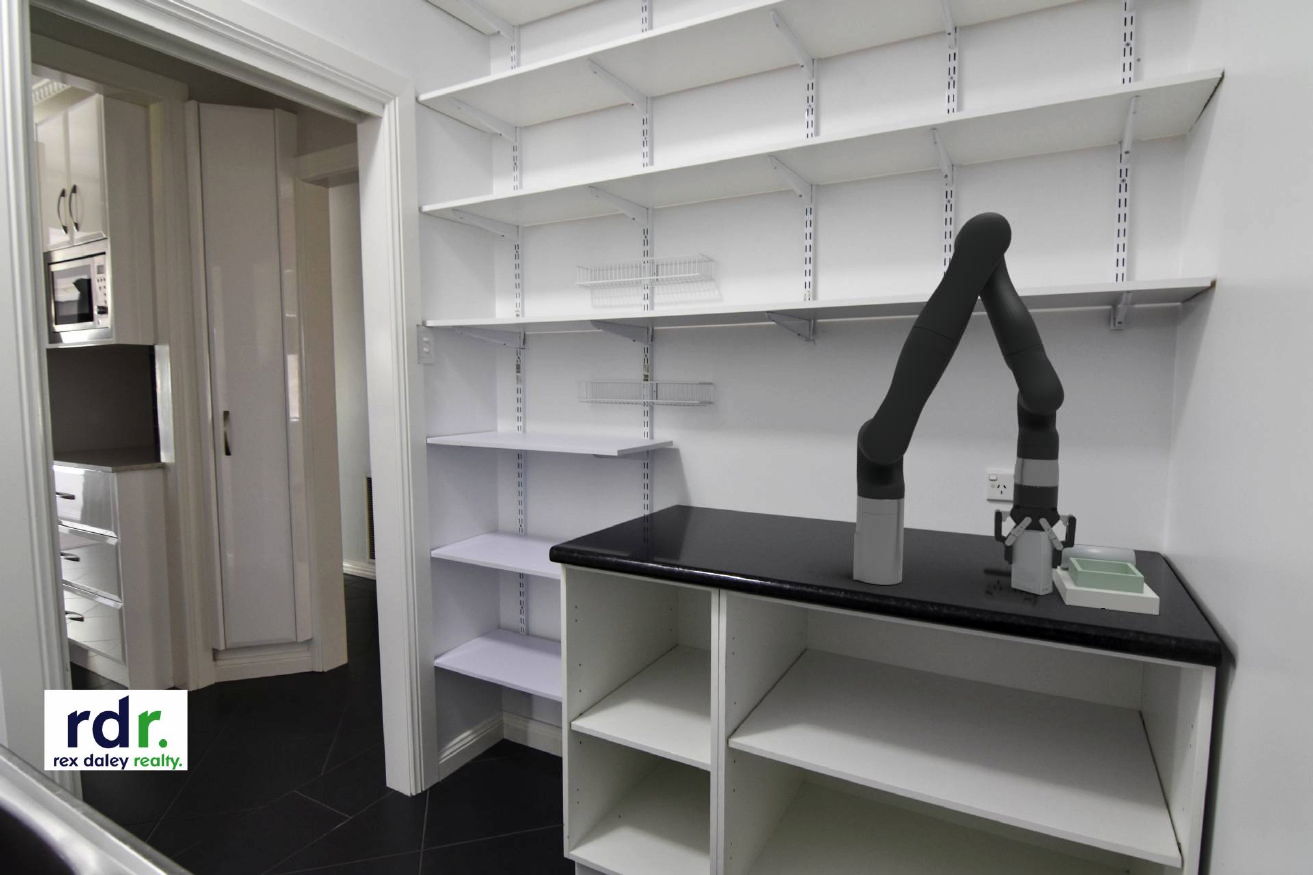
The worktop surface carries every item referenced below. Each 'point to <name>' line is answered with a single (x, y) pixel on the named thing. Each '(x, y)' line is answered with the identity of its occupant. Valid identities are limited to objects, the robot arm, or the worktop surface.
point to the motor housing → (1101, 597)
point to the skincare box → (1032, 562)
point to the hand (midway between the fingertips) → (1031, 565)
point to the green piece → (1106, 575)
